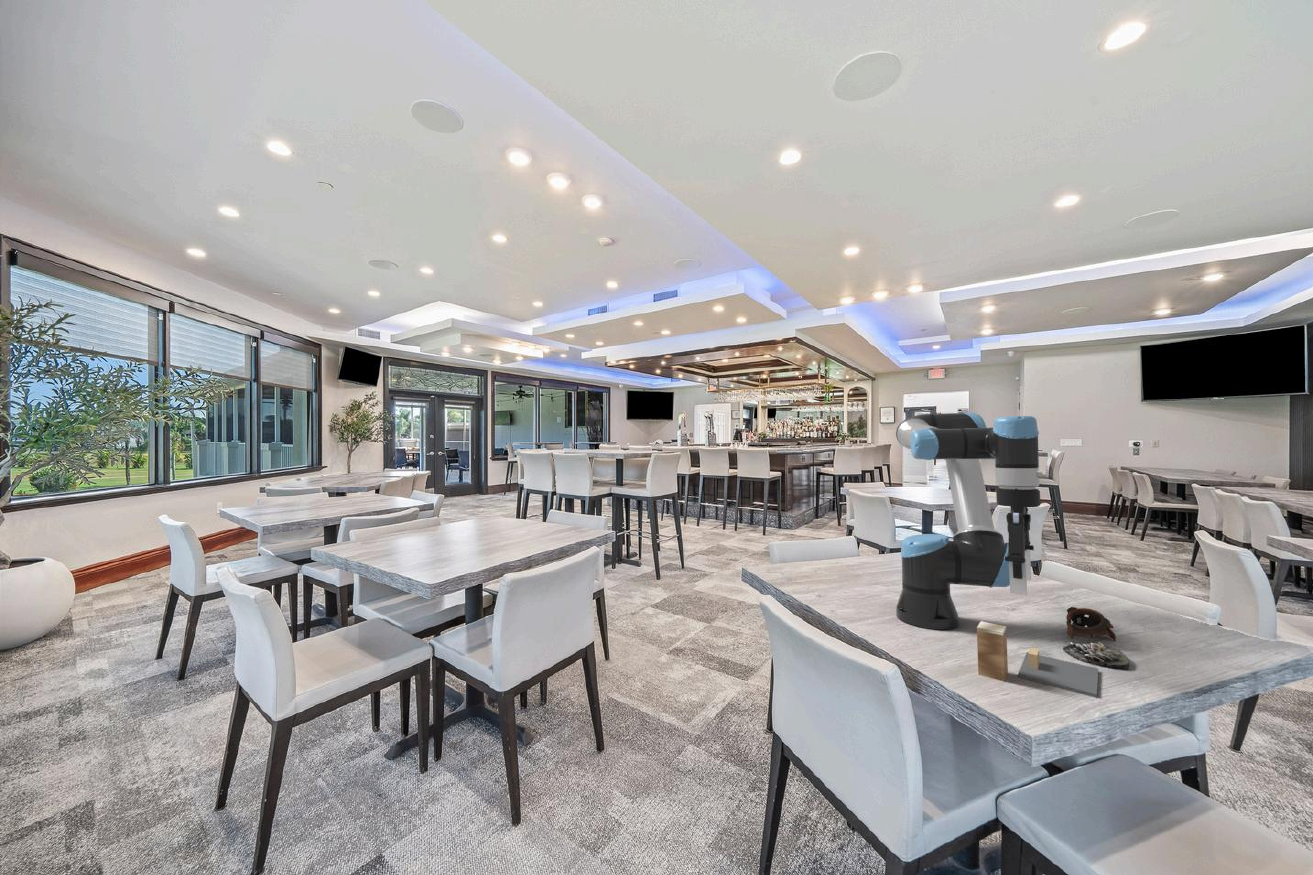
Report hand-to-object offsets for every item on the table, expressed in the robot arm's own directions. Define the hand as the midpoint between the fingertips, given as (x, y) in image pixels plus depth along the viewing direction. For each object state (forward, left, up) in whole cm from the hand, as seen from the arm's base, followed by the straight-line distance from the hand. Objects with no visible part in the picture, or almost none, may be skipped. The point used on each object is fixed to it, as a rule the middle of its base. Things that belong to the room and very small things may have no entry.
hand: (1021, 586), depth 100 cm
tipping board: (+5, +3, -18) cm, 19 cm away
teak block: (-5, -6, -18) cm, 20 cm away
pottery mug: (+9, +33, -18) cm, 39 cm away
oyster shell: (+11, +19, -19) cm, 29 cm away
